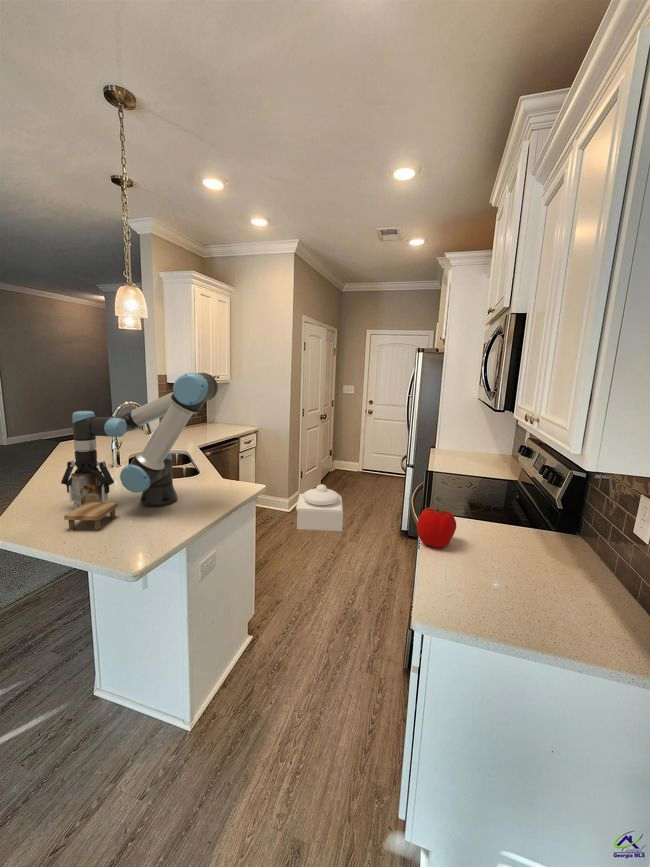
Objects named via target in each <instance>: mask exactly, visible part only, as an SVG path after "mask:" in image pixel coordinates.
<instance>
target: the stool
mask: <svg viewBox="0 0 650 867" xmlns="http://www.w3.org/2000/svg"><path fill="white" fill-rule="evenodd" d="M118 507H119V503H118V502H107V501H105V502H86V503H84V504H83V505H81V506H79V507H78V508H76V509H74V508H73V510H71V511H70V512H68V513H66V514H64V516H63V517H64V518H63V519H64V520H65V521H68V530H73V531H76V523H75V521H93V522H94V531H95V532H99V531H101V520H102V519H103V518H105V517H106V516H107V515H109V519H110V520H115V519H116V508H118Z"/></svg>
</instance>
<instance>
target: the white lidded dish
mask: <svg viewBox="0 0 650 867" xmlns="http://www.w3.org/2000/svg"><path fill="white" fill-rule="evenodd" d="M342 498H343V497H342V496H341V495H340V494H339V493H338V492H336V491H335V490H333V489H331V488H327V486H326V485H325V484H322V483H321V484H318V485H317V486H316V487H315V488H311V489H310V488H309V489H308V490H306V491H304V492H303V493H299V495H298V499H297V503H296V507H295V511H297V514H296V530H301V531H319V532H320V531H322V532H323V531H325V532H343V520H344V511H343V510H344V509H343V499H342Z"/></svg>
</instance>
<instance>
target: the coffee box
mask: <svg viewBox="0 0 650 867" xmlns="http://www.w3.org/2000/svg"><path fill="white" fill-rule="evenodd" d="M94 471H95V470H94ZM99 471H100V473H101V474H102V475H103V473H102V472H101V470H99ZM71 476H72V487H73V499H74V500H73V510H74V509H76V508H78V507H79V506H81V505H83V504H84V503H86V502H103V500H102V486H104V485H103V484H102V483H101V482H100V481H99V480H98V479H97V477H96V476H95V475H94V474H92V473H91V472H90V473H87V472H84V473H82V472H79V473H75V472H73V473H71V475H70V477H71Z"/></svg>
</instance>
